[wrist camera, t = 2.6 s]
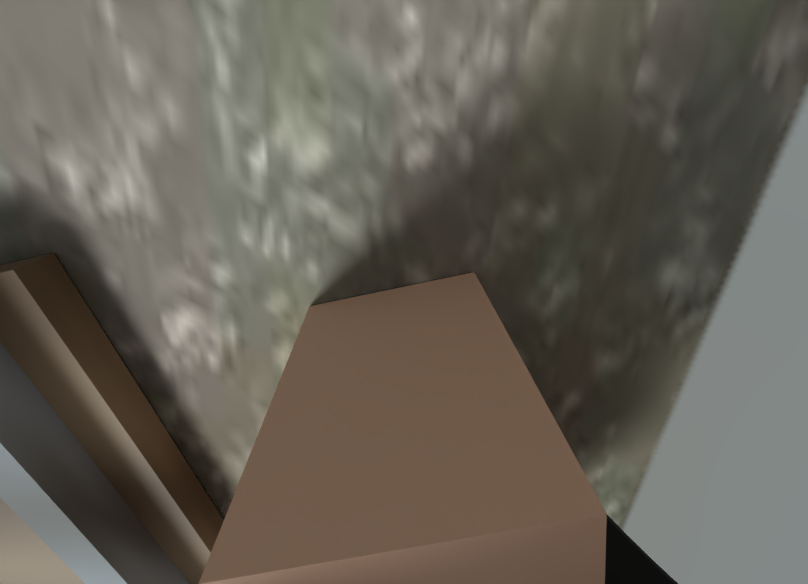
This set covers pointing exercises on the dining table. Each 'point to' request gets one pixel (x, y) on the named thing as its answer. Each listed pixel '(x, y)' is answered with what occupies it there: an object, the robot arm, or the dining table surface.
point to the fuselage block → (410, 457)
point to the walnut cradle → (85, 451)
